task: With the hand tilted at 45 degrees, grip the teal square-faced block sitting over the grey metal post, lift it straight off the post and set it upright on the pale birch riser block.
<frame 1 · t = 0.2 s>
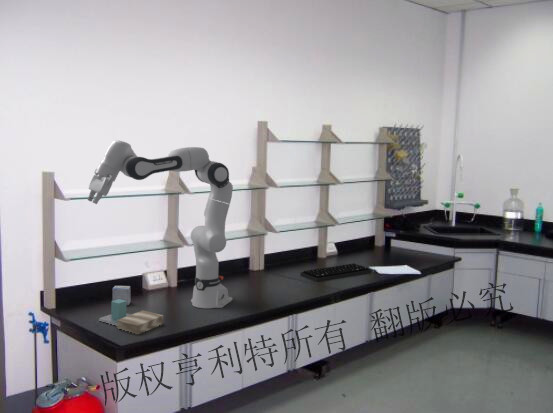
hand: (91, 202, 242), 54 cm above the counter, tool tilted 30°, fingers open, 8 cm apart
computer keyboard: (336, 275, 349), on the counter
teal square-faced block: (118, 317, 251), point 1 cm above the counter, touching post stand
riser block: (140, 326, 245), on the counter
post stand: (118, 320, 252), on the counter
medicine box: (121, 304, 275), on the counter
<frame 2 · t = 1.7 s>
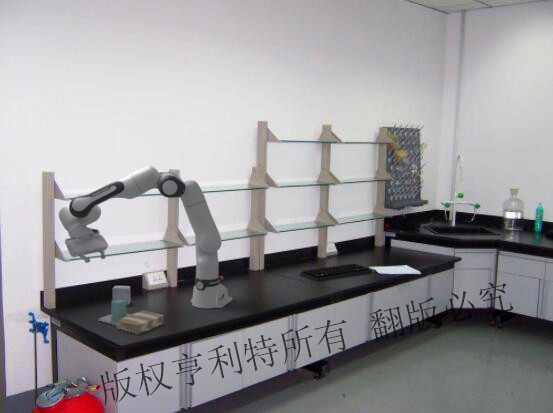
hand: (96, 260, 255), 26 cm above the counter, tool tilted 45°, fingers open, 8 cm apart
nothing on the counter moved.
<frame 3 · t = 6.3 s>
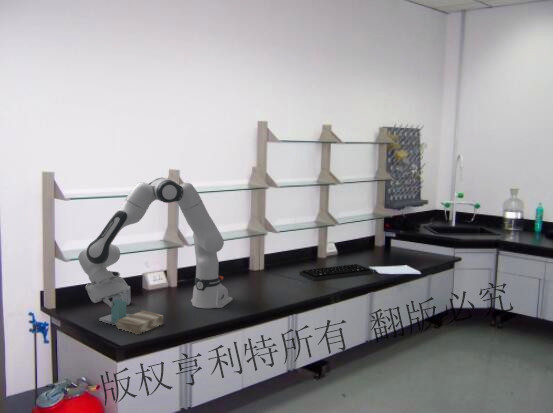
hand: (117, 304, 251), 7 cm above the counter, tool tilted 45°, fingers closed on teal square-faced block, 5 cm apart
teal square-faced block: (118, 317, 251), point 2 cm above the counter, touching gripper, post stand
when the fingers open (11 cm above the counter, at t = 12.1 s): teal square-faced block stays where it is, resting on riser block.
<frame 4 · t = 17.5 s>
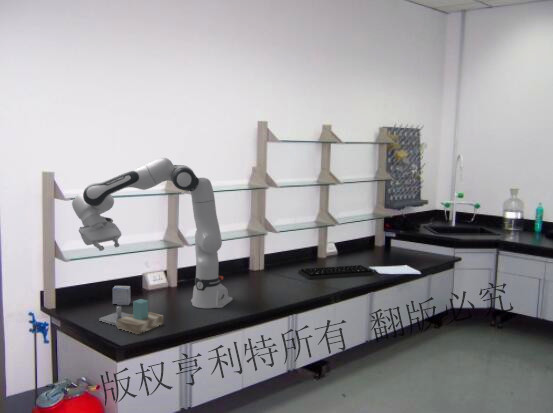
hand: (110, 248, 255), 31 cm above the counter, tool tilted 45°, fingers open, 8 cm apart
teal square-faced block: (140, 317, 245), point 4 cm above the counter, touching riser block
at the end: teal square-faced block inside the target area on the riser block (0.1 cm from its centre), point 4.0 cm above the riser block's base; teal square-faced block tilted 0°; the gripper is holding nothing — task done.
